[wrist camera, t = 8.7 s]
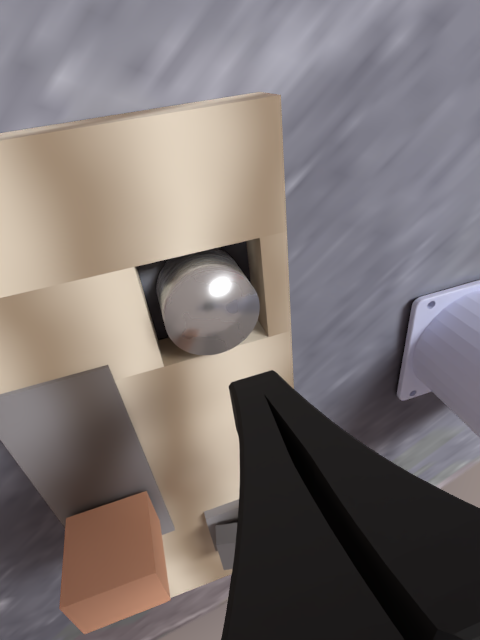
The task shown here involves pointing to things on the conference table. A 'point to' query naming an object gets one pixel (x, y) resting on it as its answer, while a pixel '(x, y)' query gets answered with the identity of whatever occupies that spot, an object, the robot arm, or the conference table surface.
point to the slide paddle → (113, 563)
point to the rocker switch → (226, 544)
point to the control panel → (137, 310)
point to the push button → (206, 302)
